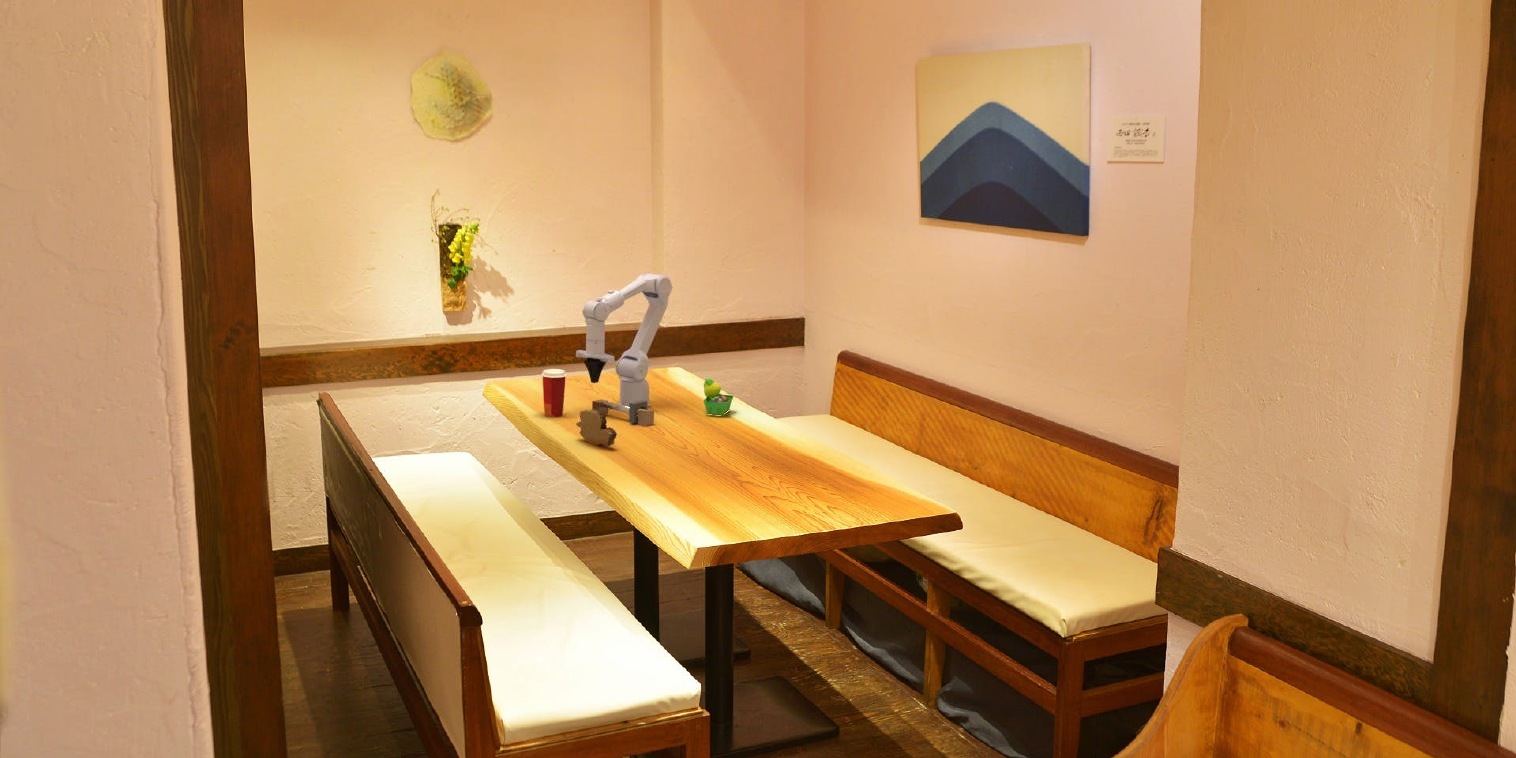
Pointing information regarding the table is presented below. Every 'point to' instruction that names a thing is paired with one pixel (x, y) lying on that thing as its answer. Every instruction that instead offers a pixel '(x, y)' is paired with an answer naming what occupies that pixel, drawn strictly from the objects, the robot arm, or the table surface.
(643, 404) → the collar
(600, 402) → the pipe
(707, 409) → the fruit basket
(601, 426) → the wooden carving
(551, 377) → the paper cup
